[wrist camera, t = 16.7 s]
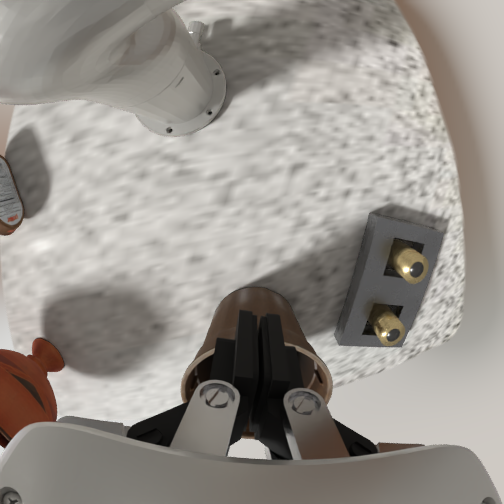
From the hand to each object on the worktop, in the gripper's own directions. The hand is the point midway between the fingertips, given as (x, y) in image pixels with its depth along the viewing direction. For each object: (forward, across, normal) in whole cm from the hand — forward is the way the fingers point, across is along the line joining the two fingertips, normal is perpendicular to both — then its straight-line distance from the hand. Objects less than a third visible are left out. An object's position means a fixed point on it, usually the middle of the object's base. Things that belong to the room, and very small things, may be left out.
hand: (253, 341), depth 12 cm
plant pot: (+27, -3, +16) cm, 32 cm away
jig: (+27, -22, +7) cm, 36 cm away
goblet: (+27, +39, +35) cm, 59 cm away
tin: (+27, +42, 0) cm, 50 cm away
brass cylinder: (+27, -22, +2) cm, 35 cm away
